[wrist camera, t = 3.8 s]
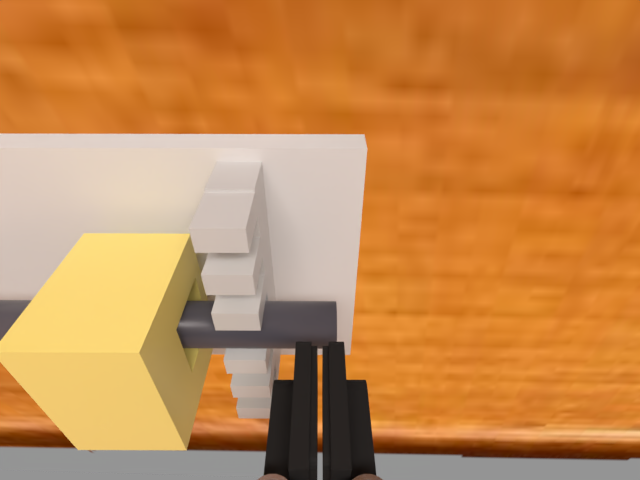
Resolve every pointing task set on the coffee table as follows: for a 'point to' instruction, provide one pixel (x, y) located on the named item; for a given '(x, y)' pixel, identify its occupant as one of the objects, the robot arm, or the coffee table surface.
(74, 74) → the coffee table surface
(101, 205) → the comb board
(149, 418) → the yellow sliding block
